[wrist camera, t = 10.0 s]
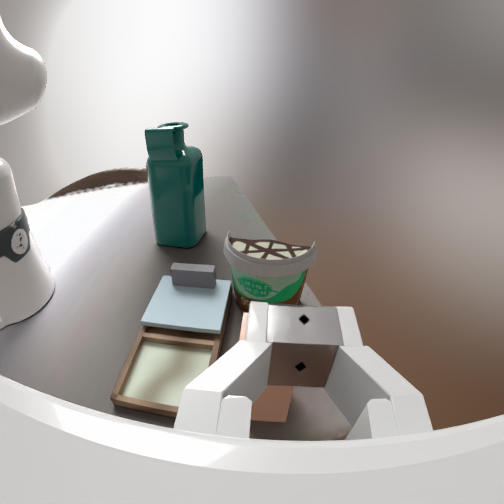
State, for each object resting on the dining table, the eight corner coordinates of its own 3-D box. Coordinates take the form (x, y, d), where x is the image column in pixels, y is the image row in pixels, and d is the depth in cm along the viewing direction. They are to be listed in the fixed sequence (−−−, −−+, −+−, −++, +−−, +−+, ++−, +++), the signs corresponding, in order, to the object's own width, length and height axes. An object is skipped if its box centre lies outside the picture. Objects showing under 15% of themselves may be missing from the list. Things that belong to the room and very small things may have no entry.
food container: (214, 317, 42) (210, 255, 37) (226, 289, 47) (224, 230, 42) (306, 331, 40) (317, 268, 35) (309, 301, 45) (319, 241, 40)
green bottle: (170, 224, 65) (161, 119, 53) (208, 228, 64) (204, 118, 52) (149, 249, 57) (134, 129, 45) (192, 254, 55) (183, 128, 44)
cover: (141, 324, 38) (136, 304, 36) (164, 279, 46) (160, 259, 44) (220, 334, 37) (218, 313, 36) (231, 284, 46) (230, 264, 44)
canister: (239, 420, 29) (236, 355, 23) (243, 383, 33) (243, 312, 27) (287, 423, 29) (301, 359, 23) (288, 386, 33) (300, 315, 27)
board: (113, 404, 29) (110, 398, 29) (165, 288, 47) (163, 280, 47) (205, 422, 29) (204, 416, 28) (232, 293, 47) (232, 286, 46)
